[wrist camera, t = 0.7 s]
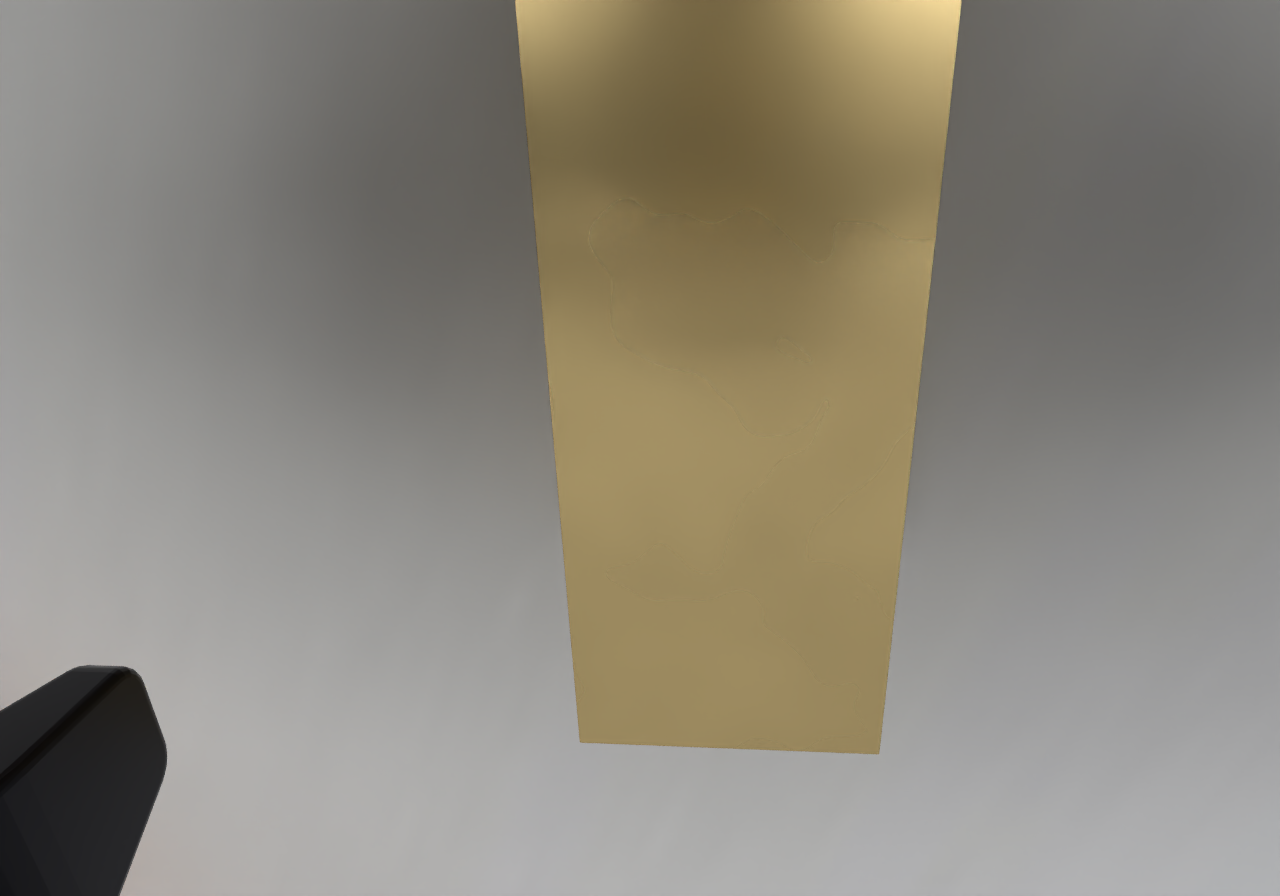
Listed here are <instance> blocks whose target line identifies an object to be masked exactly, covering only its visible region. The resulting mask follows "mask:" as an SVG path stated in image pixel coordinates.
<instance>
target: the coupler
mask: <svg viewBox="0 0 1280 896" xmlns="http://www.w3.org/2000/svg"><path fill="white" fill-rule="evenodd" d="M961 2H962V0H515V5H516V17H517V28H518V39H519V51H520V62H521V74H522V85H523V97H524V108H525V120H526V131H527V142H528V154H529V165H530V177H531V188H532V200H533V211H534V223H535V234H536V245H537V257H538V268H539V280H540V291H541V303H542V314H543V325H544V337H545V348H546V360H547V371H548V383H549V394H550V406H551V417H552V428H553V440H554V451H555V463H556V474H557V486H558V497H559V509H560V520H561V531H562V543H563V554H564V566H565V577H566V589H567V600H568V612H569V623H570V634H571V646H572V657H573V669H574V680H575V692H576V703H577V714H578V726H579V737H580V742H581V743H606V744H631V745H657V746H682V747H708V748H733V749H759V750H784V751H810V752H835V753H860V754H879V750H880V741H881V732H882V723H883V714H884V705H885V696H886V686H887V677H888V668H889V659H890V650H891V641H892V632H893V623H894V613H895V604H896V595H897V586H898V577H899V568H900V559H901V549H902V540H903V531H904V522H905V513H906V504H907V495H908V486H909V476H910V467H911V458H912V449H913V440H914V431H915V422H916V413H917V403H918V394H919V385H920V376H921V367H922V358H923V349H924V340H925V330H926V321H927V312H928V303H929V294H930V285H931V276H932V266H933V257H934V248H935V239H936V230H937V221H938V212H939V203H940V193H941V184H942V175H943V166H944V157H945V148H946V139H947V130H948V120H949V111H950V102H951V93H952V84H953V75H954V66H955V57H956V47H957V38H958V29H959V20H960V11H961Z"/></svg>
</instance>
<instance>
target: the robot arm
mask: <svg viewBox="0 0 1280 896" xmlns="http://www.w3.org/2000/svg"><path fill="white" fill-rule="evenodd" d="M166 765H167V749H166V744H165V740H164V737H163V734H162V732H161V729H160V726H159V723H158V721H157V718H156V715H155V712H154V710H153V707H152V704H151V701H150V699H149V696H148V693H147V690H146V688H145V685H144V682H143V680H142V678H141V676H140V675H139V674H138V673H137V672H136V671H135V670H133V669H131V668H128V667H124V666H96V665H86V666H79V667H76V668H73V669H71V670H69V671H67V672H65V673H64V674H62V675H60V676H59V677H57V678H55V679H54V680H52V681H50V682H48V683H47V684H45V685H43V686H42V687H40V688H38V689H37V690H35V691H33V692H32V693H30V694H28V695H26V696H25V697H23V698H21V699H20V700H18V701H16V702H15V703H13V704H11V705H10V706H8V707H6V708H4V709H3V710H1V711H0V896H120V893H121V890H122V888H123V885H124V882H125V880H126V877H127V874H128V872H129V869H130V866H131V864H132V861H133V858H134V856H135V853H136V851H137V848H138V845H139V843H140V840H141V837H142V835H143V832H144V829H145V827H146V824H147V821H148V819H149V816H150V813H151V811H152V808H153V806H154V803H155V800H156V798H157V795H158V792H159V790H160V787H161V784H162V782H163V778H164V775H165V770H166Z"/></svg>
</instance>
